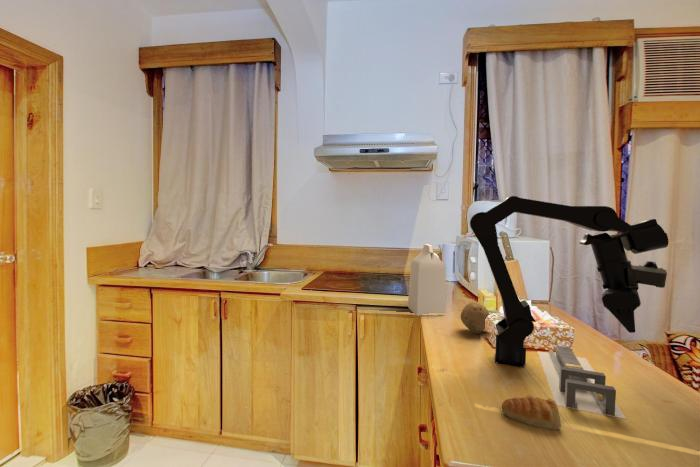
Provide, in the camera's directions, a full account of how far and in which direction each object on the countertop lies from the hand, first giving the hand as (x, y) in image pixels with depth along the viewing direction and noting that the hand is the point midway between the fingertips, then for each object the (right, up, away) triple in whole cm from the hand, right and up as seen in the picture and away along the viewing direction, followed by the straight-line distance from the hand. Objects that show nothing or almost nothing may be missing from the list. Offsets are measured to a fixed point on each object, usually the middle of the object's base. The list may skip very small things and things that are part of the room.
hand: (631, 324), depth 77 cm
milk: (-35, -10, +55) cm, 66 cm away
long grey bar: (-13, -12, +3) cm, 17 cm away
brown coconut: (-25, -11, +31) cm, 41 cm away
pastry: (-31, -13, -15) cm, 37 cm away
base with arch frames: (-14, -12, -1) cm, 19 cm away
